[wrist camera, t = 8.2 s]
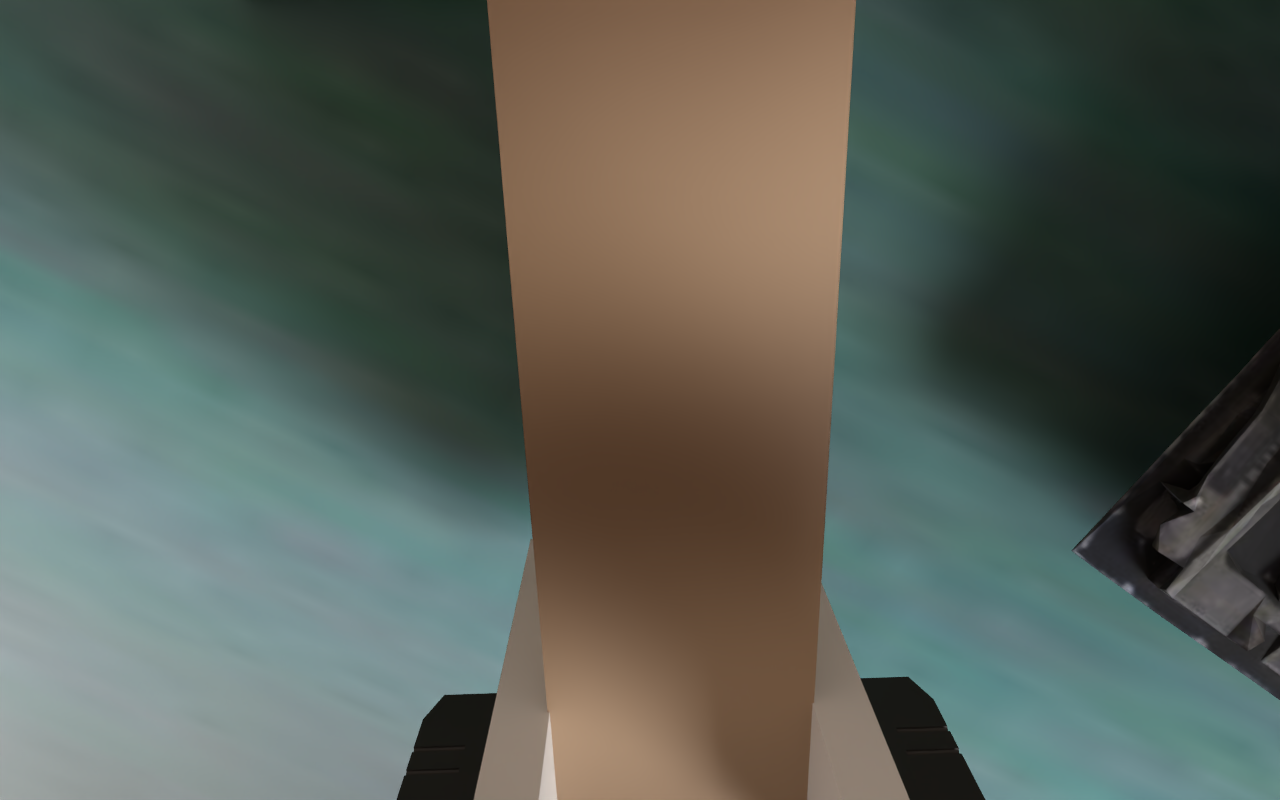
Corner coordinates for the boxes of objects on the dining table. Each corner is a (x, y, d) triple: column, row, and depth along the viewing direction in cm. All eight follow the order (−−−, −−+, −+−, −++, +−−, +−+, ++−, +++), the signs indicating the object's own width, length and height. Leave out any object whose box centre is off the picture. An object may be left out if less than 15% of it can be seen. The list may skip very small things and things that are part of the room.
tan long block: (813, 687, 17) (885, 917, 12) (522, 697, 17) (481, 930, 12) (865, -193, 11) (1029, -385, 7) (436, -180, 11) (302, -366, 7)
